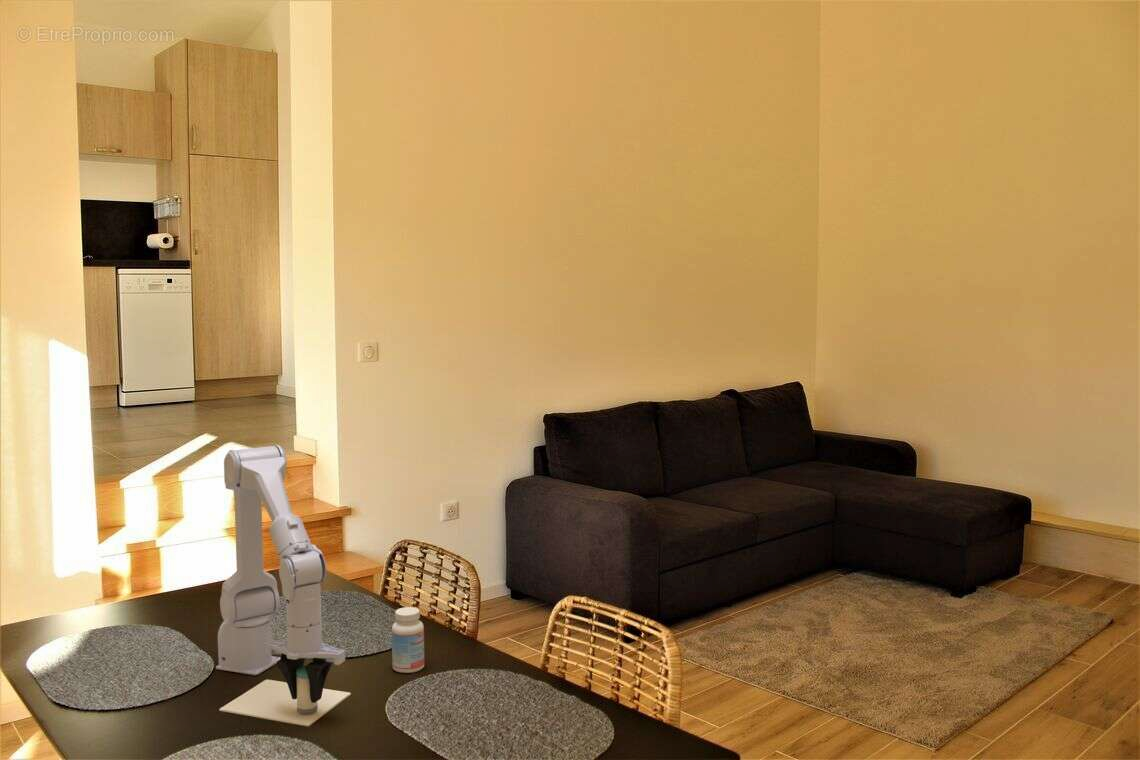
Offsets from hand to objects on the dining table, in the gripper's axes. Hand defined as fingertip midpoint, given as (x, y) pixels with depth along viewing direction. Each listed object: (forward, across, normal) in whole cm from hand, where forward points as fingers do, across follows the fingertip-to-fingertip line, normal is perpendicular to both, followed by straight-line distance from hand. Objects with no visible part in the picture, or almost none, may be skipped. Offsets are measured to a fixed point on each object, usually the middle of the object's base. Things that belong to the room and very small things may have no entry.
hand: (306, 698), depth 162 cm
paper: (+3, -6, +2) cm, 7 cm away
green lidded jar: (+2, 0, 0) cm, 2 cm away
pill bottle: (+3, +7, +23) cm, 24 cm away
